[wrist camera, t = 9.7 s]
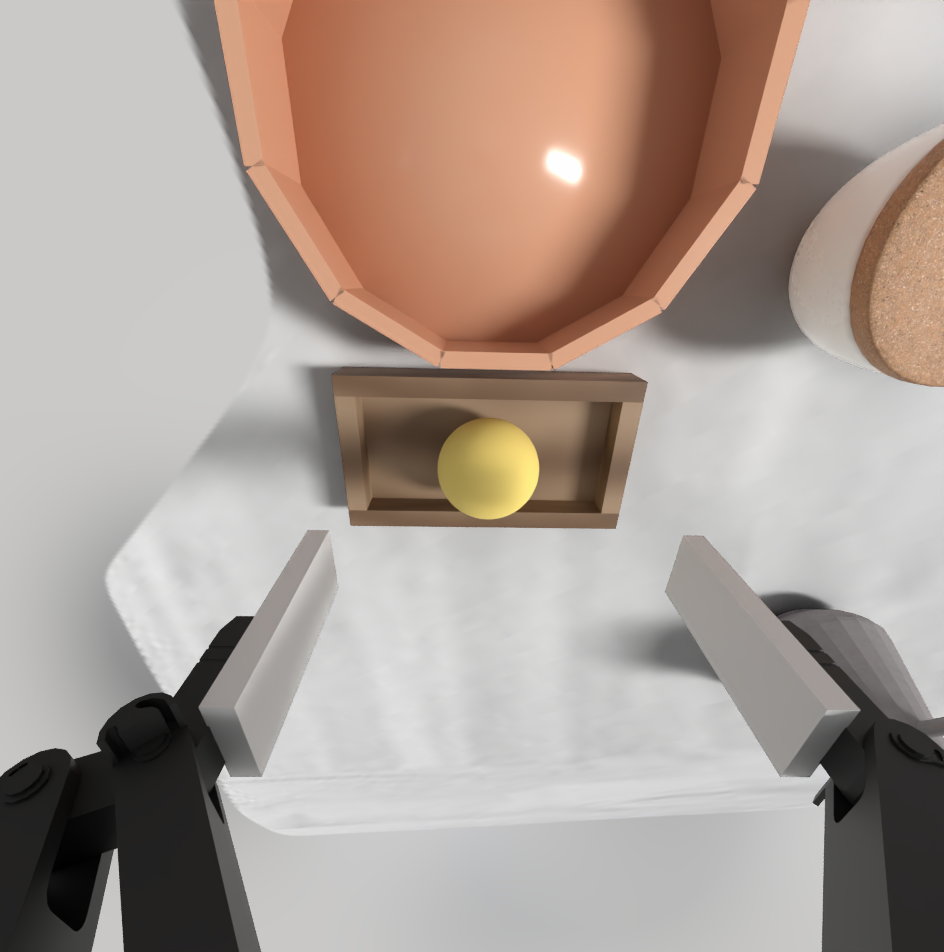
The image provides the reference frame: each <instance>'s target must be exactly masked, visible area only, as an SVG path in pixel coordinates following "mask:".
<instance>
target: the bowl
mask: <svg viewBox="0 0 944 952" xmlns="http://www.w3.org/2000/svg"><path fill="white" fill-rule="evenodd" d="M809 3H810V0H214V4H215V10H216V15H217V21H218V26H219V32H220V37H221V43H222V48H223V54H224V59H225V65H226V70H227V76H228V81H229V87H230V92H231V98H232V103H233V109H234V114H235V120H236V125H237V131H238V136H239V142H240V147H241V153H242V158H243V164H244V166H245V167H247V168H249V169H248V170H247V171H246V172H247V173H248V175H249V176H250V178H251V180H252V181H253V183H254V184H255V186H256V187H257V189H258V190H259V192H260V194H261V195H262V197H263V198H264V200H265V201H266V203H267V204H268V206H269V207H270V209H271V211H272V212H273V214H274V215H275V217H276V218H277V220H278V221H279V223H280V225H281V226H282V228H283V229H284V231H285V232H286V234H287V235H288V237H289V239H290V240H291V242H292V243H293V245H294V246H295V248H296V249H297V251H298V252H299V254H300V256H301V257H302V259H303V260H304V262H305V263H306V265H307V266H308V268H309V270H310V271H311V273H312V274H313V276H314V277H315V279H316V280H317V282H318V283H319V285H320V287H321V288H322V290H323V291H324V293H325V294H326V296H327V297H328V299H329V301H334V303H333V304H334V305H335V306H337V307H339V308H340V309H342V310H343V311H345V312H347V313H348V314H350V315H352V316H353V317H355V318H357V319H358V320H360V321H362V322H363V323H365V324H367V325H368V326H370V327H372V328H373V329H375V330H377V331H378V332H380V333H382V334H383V335H385V336H386V337H388V338H390V339H391V340H393V341H395V342H396V343H398V344H400V345H401V346H403V347H405V348H406V349H408V350H410V351H411V352H413V353H415V354H416V355H418V356H420V357H421V358H423V359H424V360H426V361H428V362H429V363H431V364H433V365H434V366H436V367H438V365H439V363H440V364H441V368H455V369H499V370H544V371H551V367H552V368H553V369H554V370H555V369H557V368H559V367H561V366H563V365H564V364H566V363H568V362H570V361H572V360H574V359H576V358H578V357H579V356H581V355H583V354H585V353H587V352H589V351H591V350H593V349H595V348H596V347H598V346H600V345H602V344H604V343H606V342H608V341H610V340H611V339H613V338H615V337H617V336H619V335H621V334H623V333H625V332H626V331H628V330H630V329H632V328H634V327H636V326H638V325H640V324H642V323H643V322H645V321H647V320H649V319H651V318H653V317H655V316H657V315H658V314H660V313H662V312H661V310H665V309H666V308H667V307H668V305H669V304H670V303H671V301H672V300H673V299H674V297H675V296H676V295H677V293H678V292H679V291H680V289H681V288H682V287H683V285H684V284H685V283H686V281H687V280H688V279H689V277H690V276H691V275H692V273H693V272H694V271H695V270H696V268H697V267H698V266H699V264H700V263H701V262H702V260H703V259H704V258H705V256H706V255H707V254H708V252H709V251H710V250H711V248H712V247H713V246H714V244H715V243H716V242H717V240H718V239H719V238H720V236H721V235H722V234H723V233H724V231H725V230H726V229H727V227H728V226H729V225H730V223H731V222H732V221H733V219H734V218H735V217H736V215H737V214H738V213H739V211H740V210H741V209H742V207H743V206H744V205H745V203H746V202H747V201H748V199H749V198H750V197H751V196H752V194H753V193H754V192H755V190H756V188H755V187H754V186H755V185H758V184H759V182H760V178H761V175H762V171H763V168H764V164H765V160H766V157H767V153H768V150H769V146H770V143H771V139H772V135H773V132H774V128H775V125H776V121H777V118H778V114H779V110H780V107H781V103H782V100H783V96H784V93H785V89H786V85H787V82H788V78H789V75H790V71H791V68H792V64H793V60H794V57H795V53H796V50H797V46H798V43H799V39H800V35H801V32H802V28H803V25H804V21H805V17H806V14H807V10H808V7H809Z"/></svg>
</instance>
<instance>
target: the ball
mask: <svg viewBox="0 0 944 952" xmlns="http://www.w3.org/2000/svg"><path fill="white" fill-rule="evenodd" d="M437 471H438V479H439V483H440V486H441V488H442V491H443V493H444V494H445V496H446V497H447V499H448V500H449V501H450V503H451V504H452V505H453V506H454V507H456V508H457V509H458V510H460V511H461V512H463V513H464V514H466V515H469V516H471V517H474V518H479V519H498V518H502V517H505V516H508V515H510V514H512V513H514V512H516V511H517V510H519V509H520V508H521V507H522V506H523V505H524V504H525V503H526V502H527V501H528V500H529V499H530V497H531V496H532V494H533V492H534V490H535V488H536V485H537V482H538V477H539V460H538V456H537V452H536V449H535V447H534V445H533V443H532V442H531V440H530V439H529V437H528V436H527V435H526V434H525V433H524V432H523V431H522V430H521V429H520V428H518V427H517V426H515V425H514V424H512V423H510V422H508V421H505V420H502V419H497V418H480V419H475V420H472V421H469V422H467V423H465V424H463V425H461V426H460V427H458V428H457V429H456V430H455V431H454V432H453V433H452V434H451V435H450V436H449V437H448V438H447V440H446V441H445V443H444V445H443V447H442V449H441V452H440V455H439V459H438V469H437Z"/></svg>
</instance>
